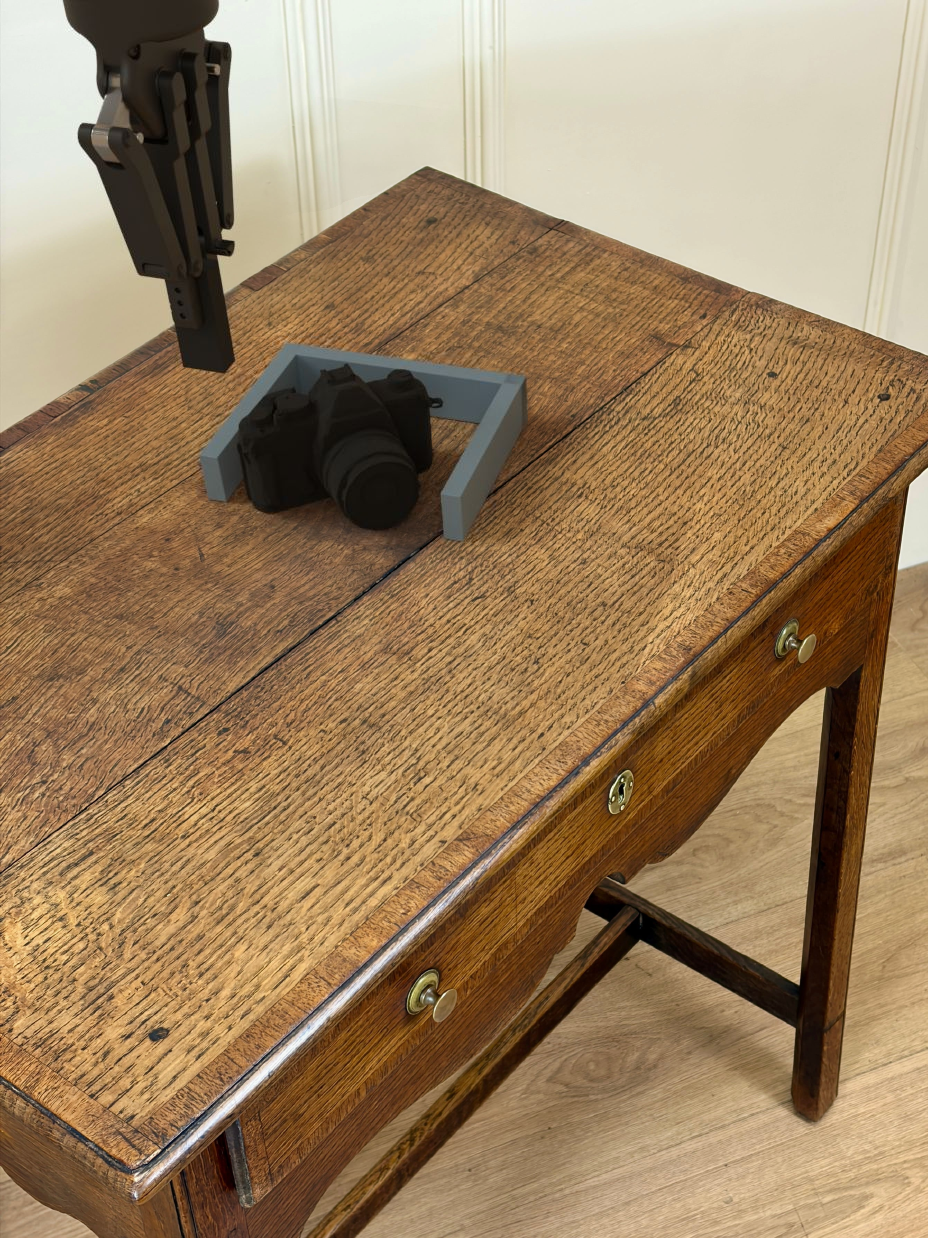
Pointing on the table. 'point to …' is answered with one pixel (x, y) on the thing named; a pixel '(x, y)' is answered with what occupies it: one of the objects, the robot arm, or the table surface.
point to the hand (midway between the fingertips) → (209, 363)
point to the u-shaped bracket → (464, 399)
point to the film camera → (340, 446)
